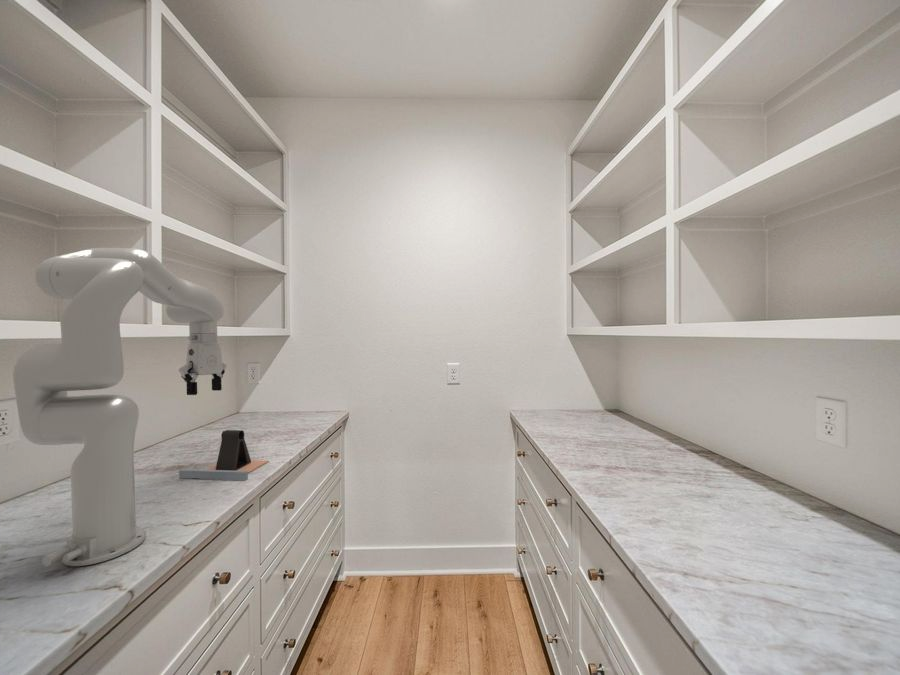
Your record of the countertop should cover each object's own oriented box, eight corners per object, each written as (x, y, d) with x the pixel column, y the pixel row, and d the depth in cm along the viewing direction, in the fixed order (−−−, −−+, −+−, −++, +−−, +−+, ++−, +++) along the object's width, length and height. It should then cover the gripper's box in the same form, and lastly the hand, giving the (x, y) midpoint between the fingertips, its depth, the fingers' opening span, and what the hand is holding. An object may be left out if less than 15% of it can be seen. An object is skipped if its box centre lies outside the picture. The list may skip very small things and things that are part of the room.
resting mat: (243, 476, 114) (242, 475, 114) (196, 474, 116) (196, 473, 116) (268, 461, 127) (268, 460, 127) (226, 460, 129) (226, 459, 129)
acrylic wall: (245, 480, 111) (244, 472, 111) (179, 478, 114) (179, 470, 114) (247, 479, 112) (247, 471, 112) (182, 476, 115) (182, 468, 115)
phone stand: (232, 472, 117) (231, 434, 117) (215, 471, 118) (213, 434, 118) (251, 462, 126) (250, 427, 126) (235, 462, 127) (234, 427, 126)
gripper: (190, 339, 111) (192, 396, 110) (233, 339, 128) (235, 388, 128) (169, 340, 112) (170, 396, 112) (214, 339, 129) (215, 388, 129)
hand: (204, 392), depth 120 cm, fingers open, 9 cm apart
